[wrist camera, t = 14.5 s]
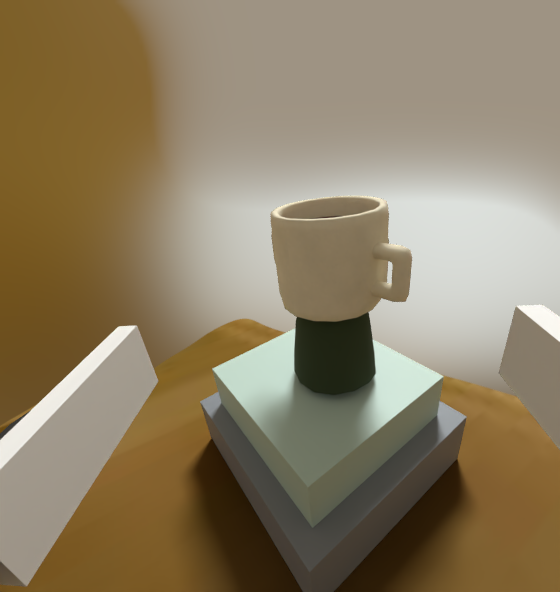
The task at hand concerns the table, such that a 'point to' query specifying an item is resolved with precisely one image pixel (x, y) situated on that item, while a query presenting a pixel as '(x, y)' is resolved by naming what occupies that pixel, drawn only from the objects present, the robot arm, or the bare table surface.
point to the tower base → (355, 513)
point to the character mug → (336, 284)
